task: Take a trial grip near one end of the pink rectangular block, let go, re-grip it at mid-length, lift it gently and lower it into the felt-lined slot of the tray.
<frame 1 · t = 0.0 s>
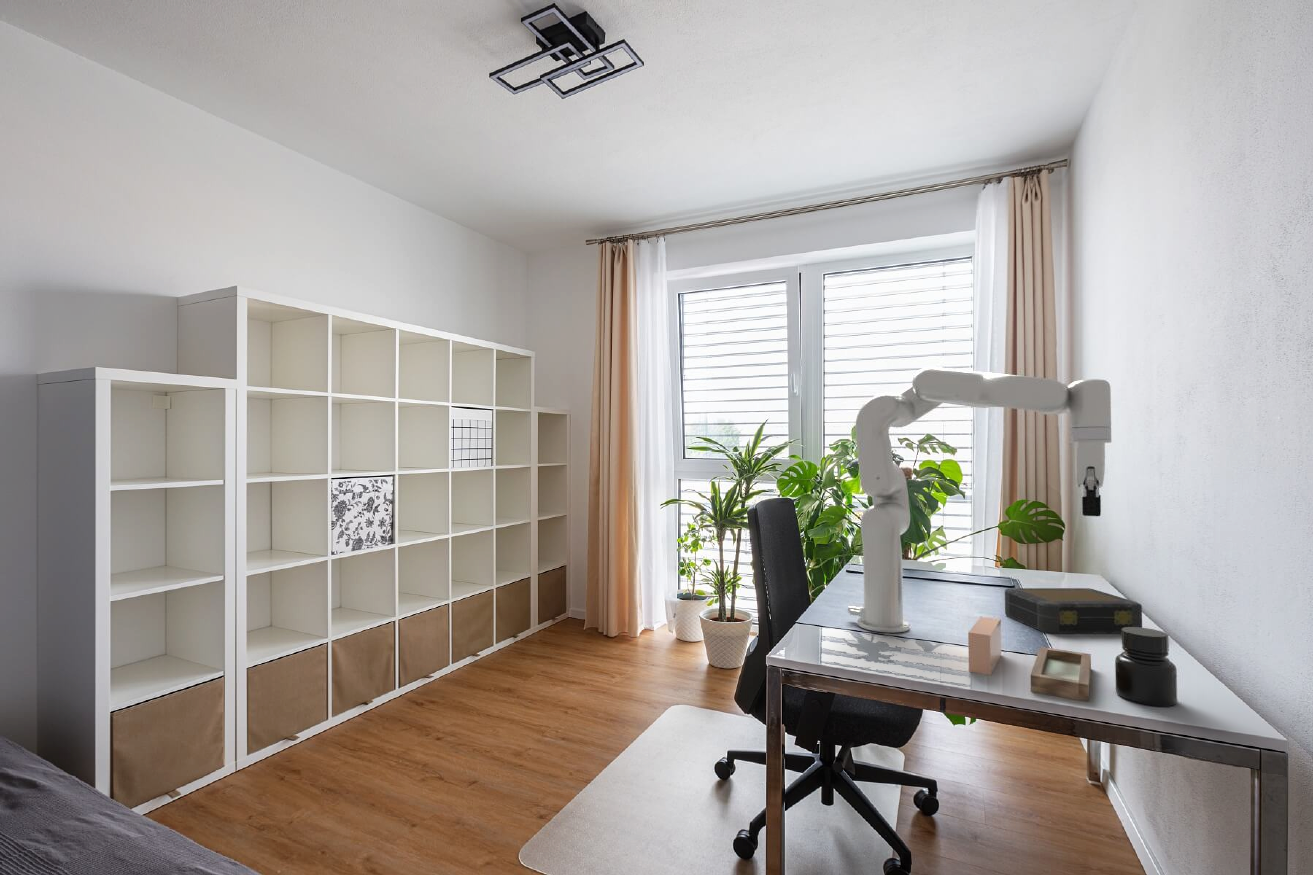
hand: (1091, 514, 142), 31 cm above the table, fingers open, 9 cm apart
tray: (1062, 679, 127), on the table
ink bottle: (1145, 699, 118), on the table
cash box: (1069, 625, 171), on the table
pink rectangular block: (985, 663, 138), on the table
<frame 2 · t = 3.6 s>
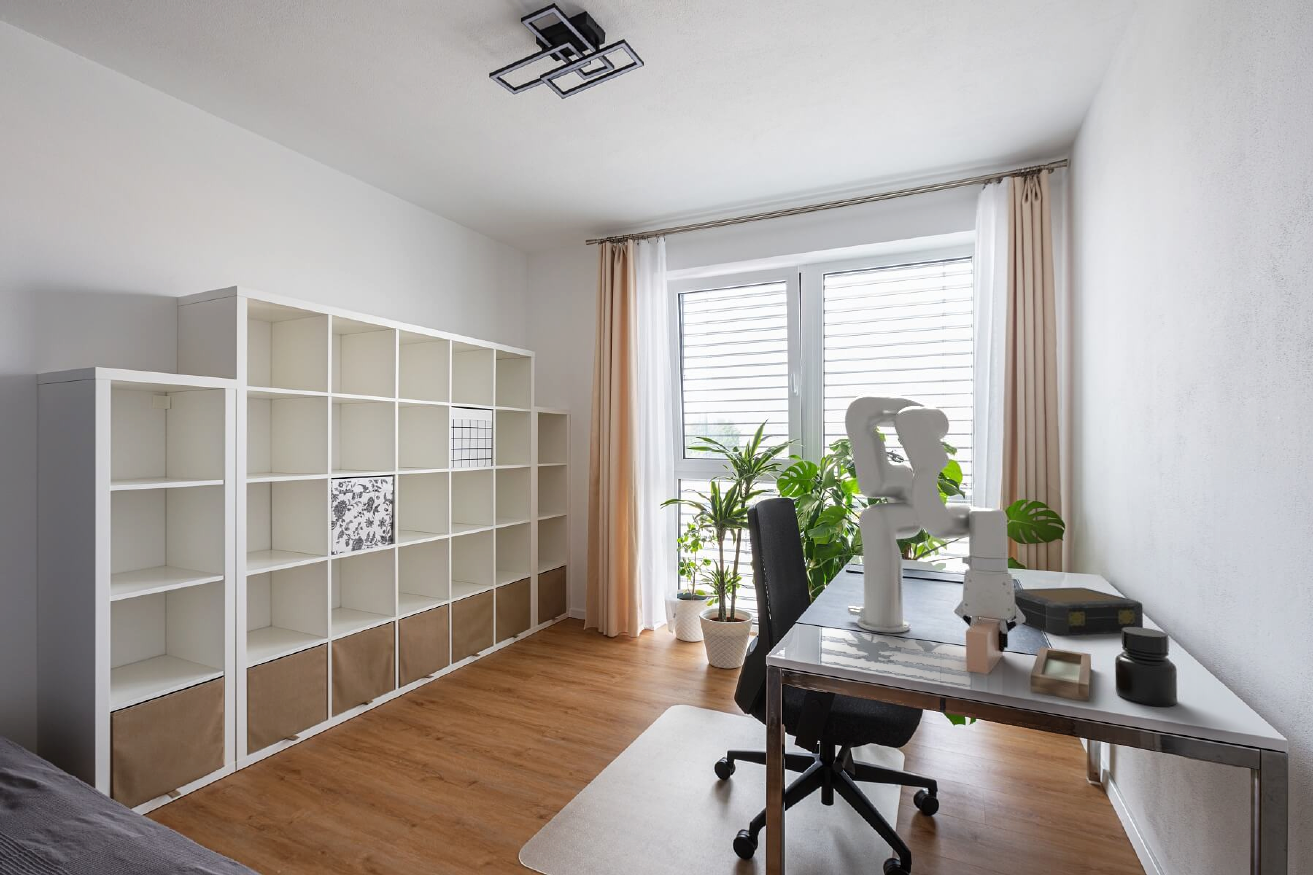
hand: (989, 647, 142), 2 cm above the table, fingers closed on pink rectangular block, 4 cm apart
pink rectangular block: (985, 662, 138), on the table, touching gripper
when the fingers open (2 cm above the table, at t = 4.5 s): pink rectangular block stays where it is, on the table.
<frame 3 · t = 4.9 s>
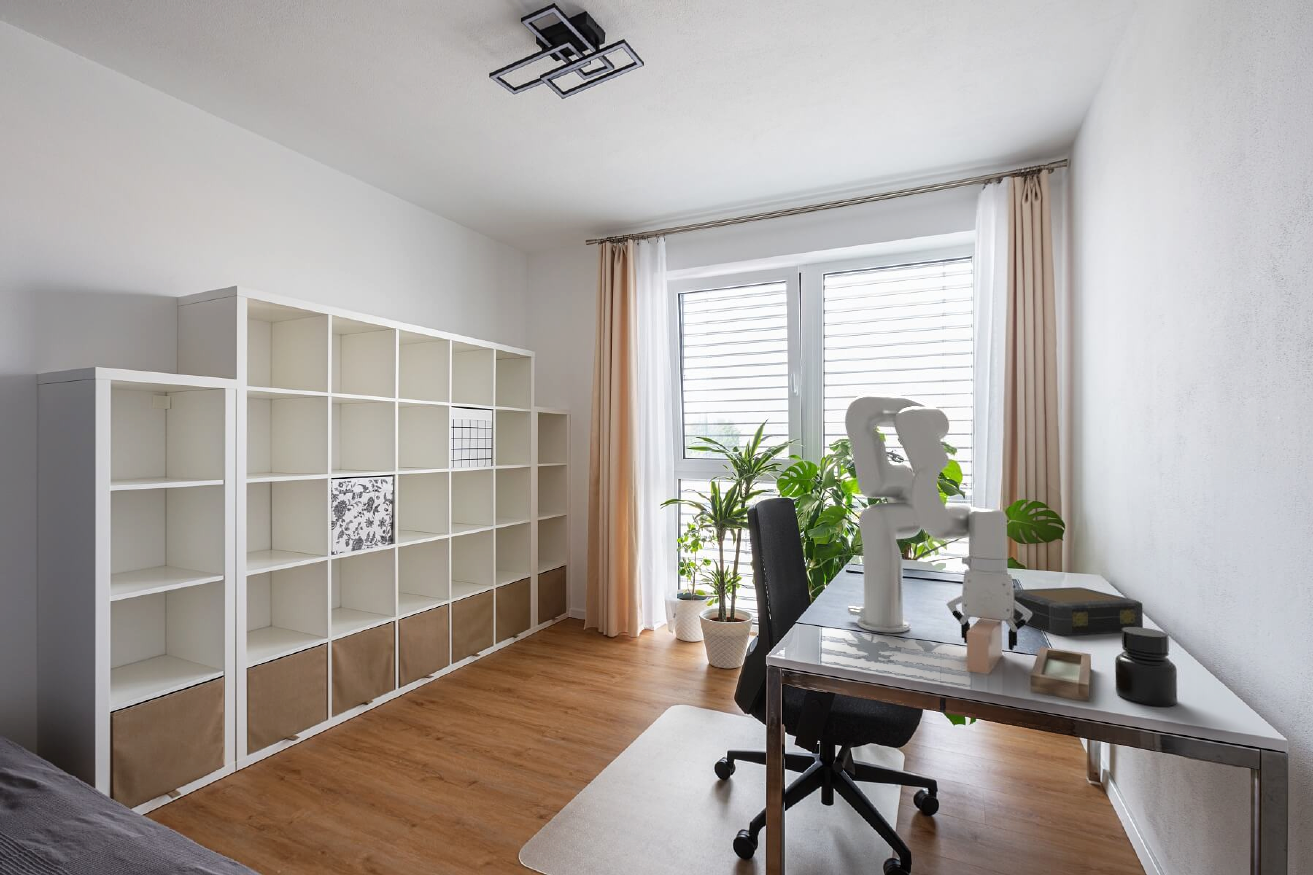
hand: (988, 644, 142), 3 cm above the table, fingers open, 8 cm apart
pink rectangular block: (985, 663, 138), on the table
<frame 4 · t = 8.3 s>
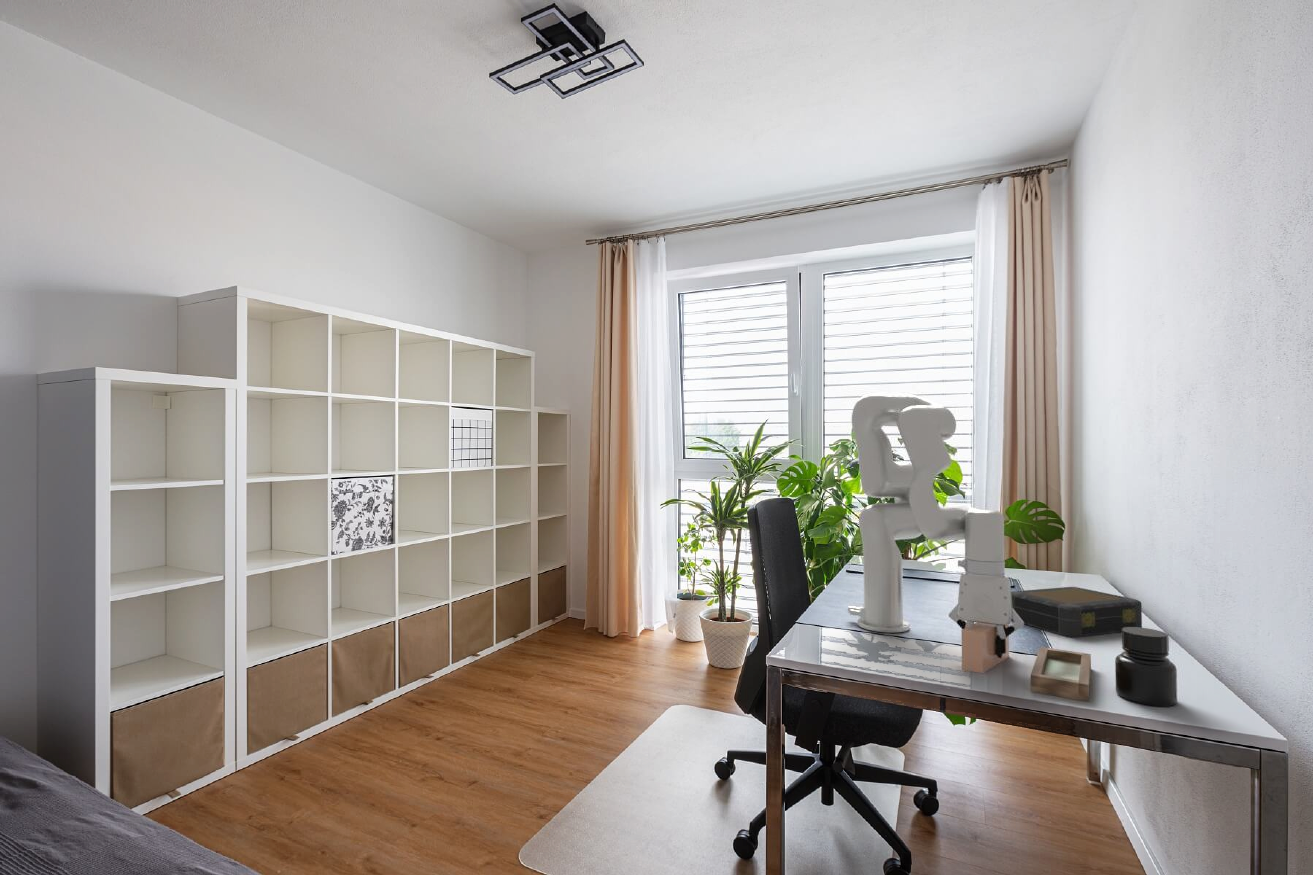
hand: (985, 653, 138), 2 cm above the table, fingers closed on pink rectangular block, 4 cm apart
pink rectangular block: (986, 662, 138), on the table, touching gripper
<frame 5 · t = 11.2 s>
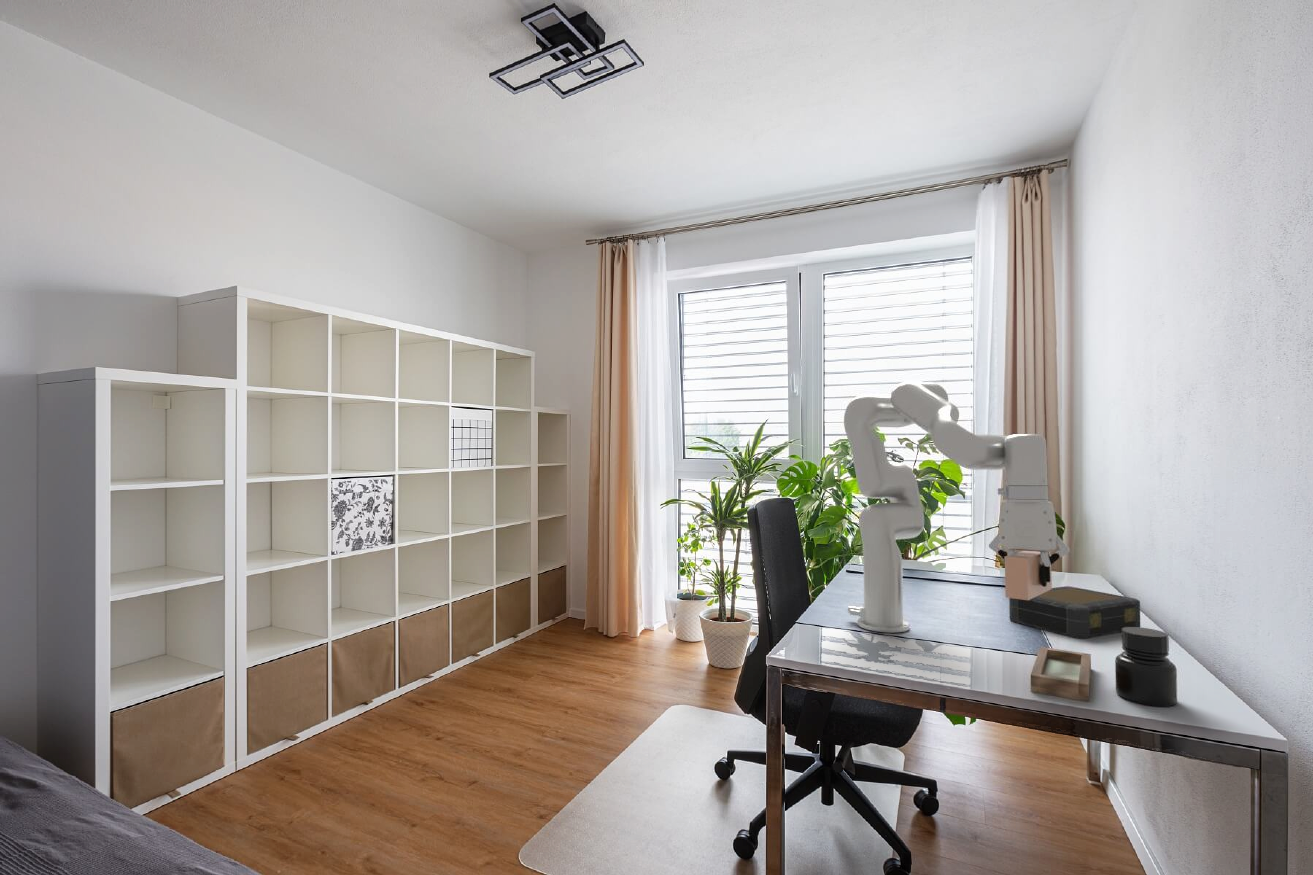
hand: (1029, 583, 132), 18 cm above the table, fingers closed on pink rectangular block, 4 cm apart
pink rectangular block: (1029, 593, 132), point 16 cm above the table, touching gripper
when the fingers open (5 cm above the table, at t = 13.9 s): pink rectangular block stays where it is, resting on tray.
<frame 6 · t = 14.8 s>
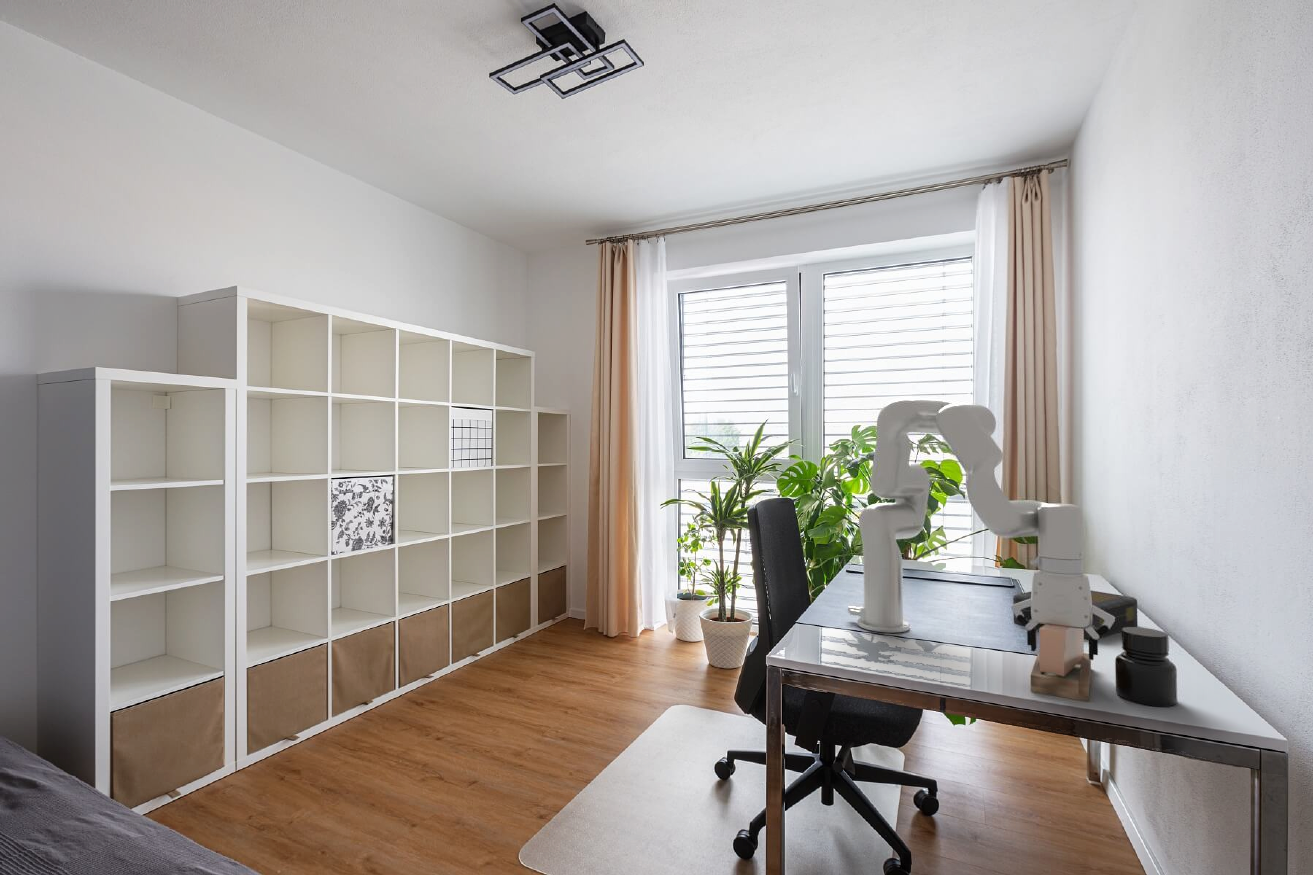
hand: (1061, 653, 128), 5 cm above the table, fingers open, 9 cm apart
pink rectangular block: (1062, 663, 128), point 3 cm above the table, touching tray
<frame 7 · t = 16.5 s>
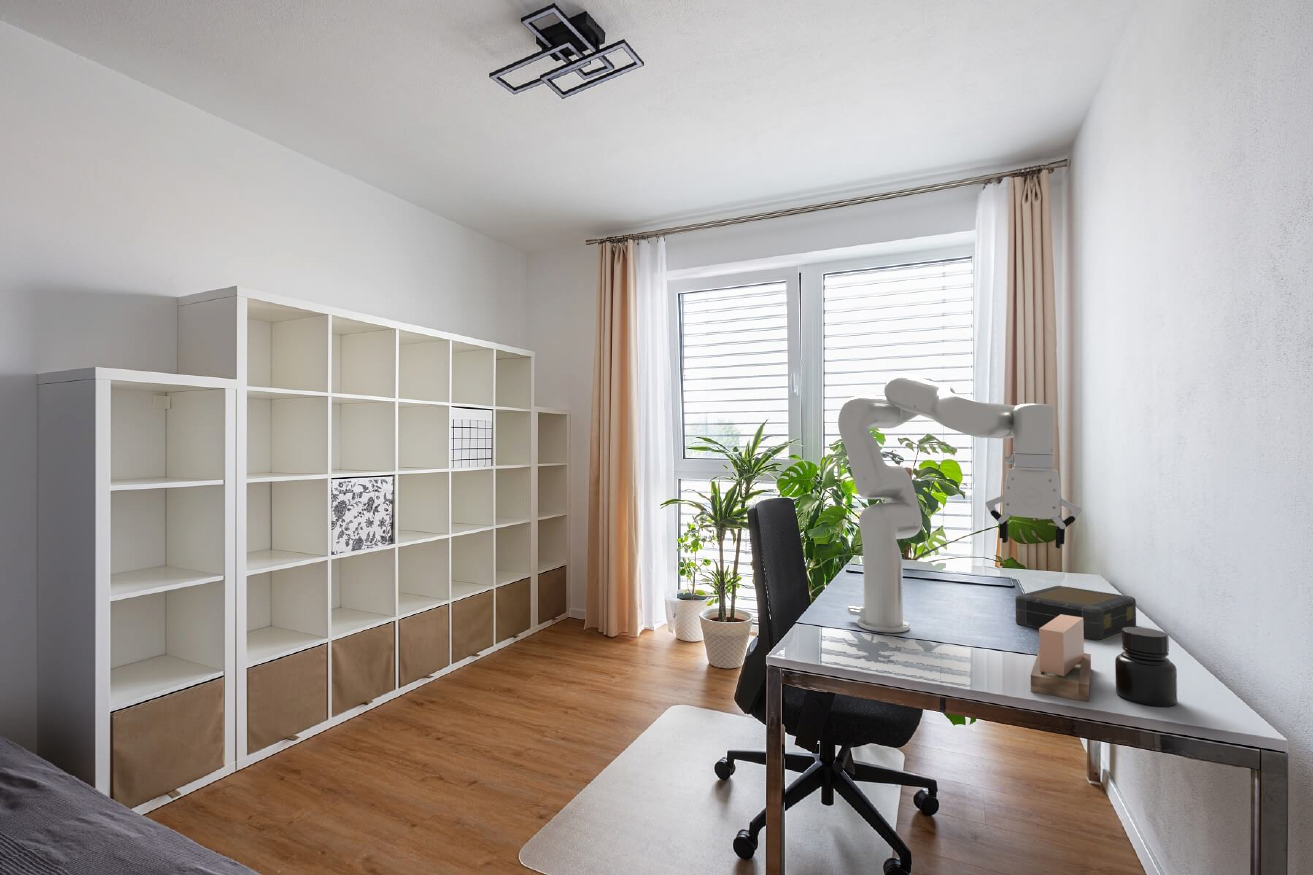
hand: (1031, 544, 136), 25 cm above the table, fingers open, 9 cm apart
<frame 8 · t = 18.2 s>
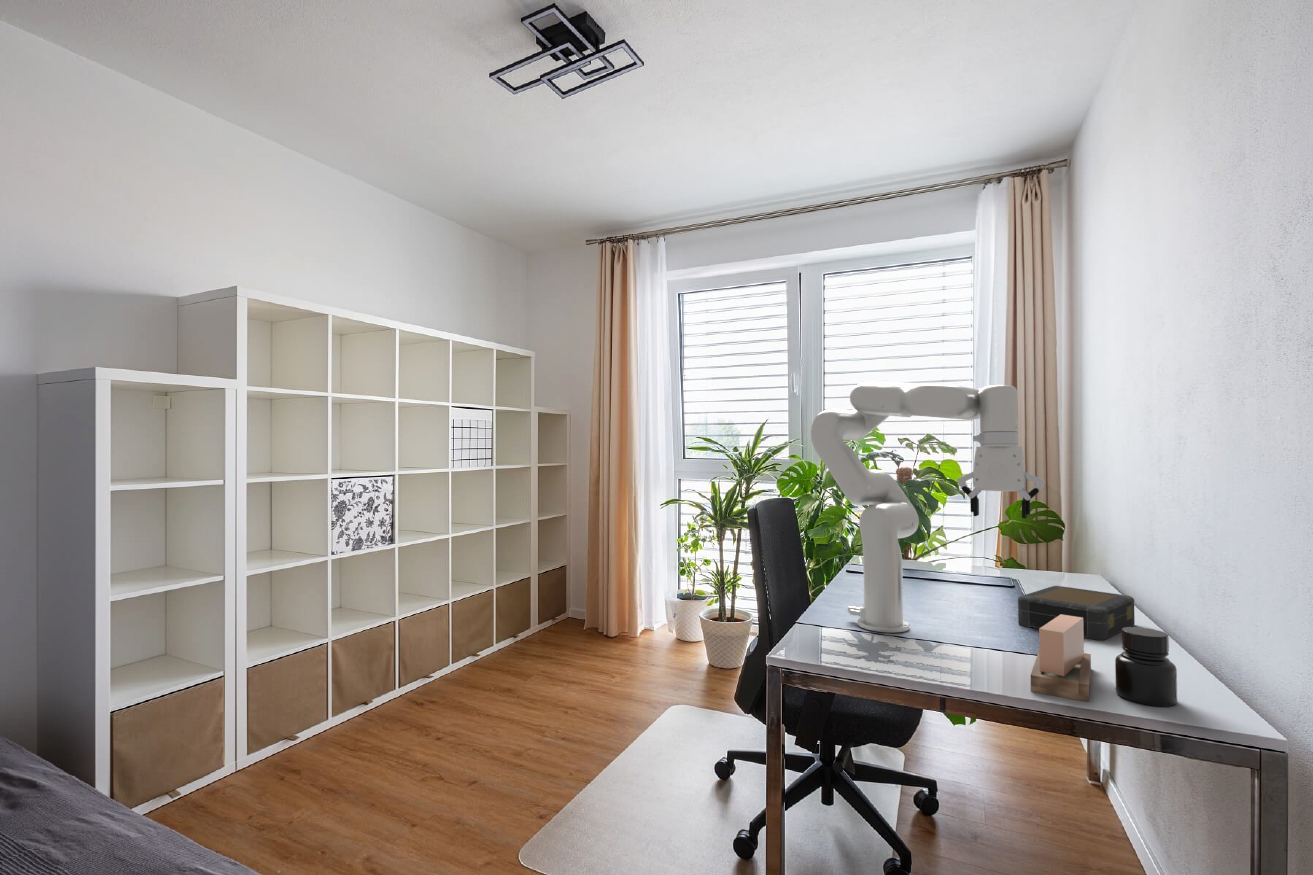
hand: (999, 516, 145), 30 cm above the table, fingers open, 9 cm apart
at the end: pink rectangular block 0.1 cm off-centre on the tray, point 3.0 cm above the tray's base; pink rectangular block tilted 0°; the gripper is holding nothing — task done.
